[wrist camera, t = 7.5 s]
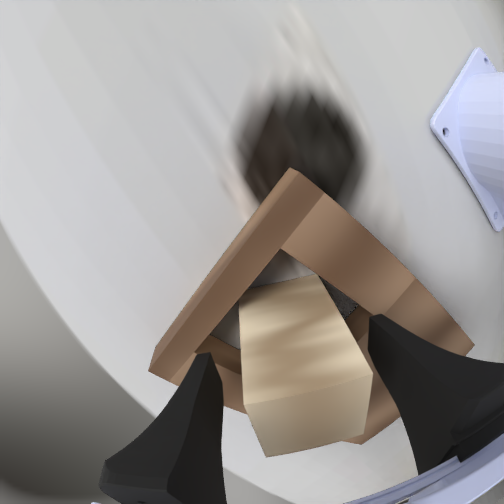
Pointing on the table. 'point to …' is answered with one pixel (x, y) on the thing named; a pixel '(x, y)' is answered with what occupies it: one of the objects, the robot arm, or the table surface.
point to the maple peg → (300, 368)
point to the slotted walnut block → (326, 266)
